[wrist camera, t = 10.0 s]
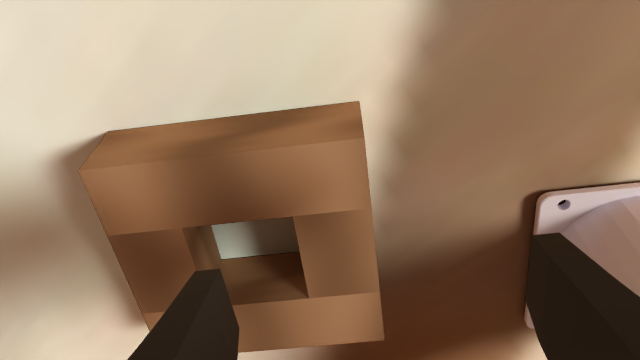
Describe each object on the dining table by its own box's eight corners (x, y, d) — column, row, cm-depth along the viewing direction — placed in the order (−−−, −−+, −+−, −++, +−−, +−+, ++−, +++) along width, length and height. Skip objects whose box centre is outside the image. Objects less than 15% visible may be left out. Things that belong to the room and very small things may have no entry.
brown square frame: (359, 101, 20) (364, 137, 17) (378, 290, 25) (384, 340, 23) (108, 131, 21) (78, 170, 18) (178, 309, 26) (162, 359, 24)
